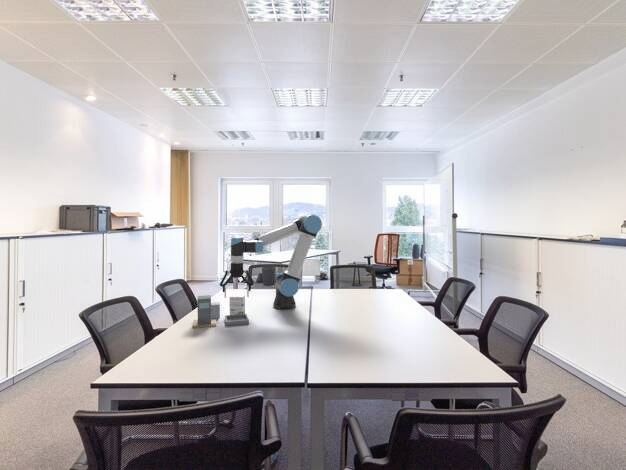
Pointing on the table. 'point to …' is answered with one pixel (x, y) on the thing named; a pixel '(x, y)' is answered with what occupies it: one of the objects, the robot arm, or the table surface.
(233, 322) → the tray
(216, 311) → the grey block
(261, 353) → the table surface
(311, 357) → the table surface
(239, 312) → the ink box
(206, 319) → the mounted unit
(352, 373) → the table surface
